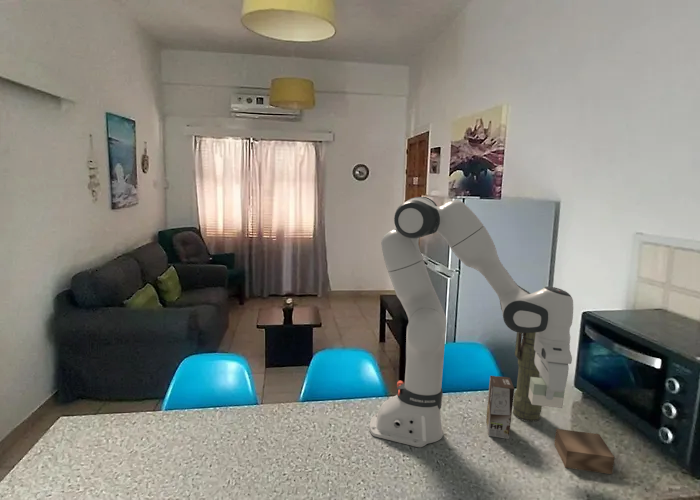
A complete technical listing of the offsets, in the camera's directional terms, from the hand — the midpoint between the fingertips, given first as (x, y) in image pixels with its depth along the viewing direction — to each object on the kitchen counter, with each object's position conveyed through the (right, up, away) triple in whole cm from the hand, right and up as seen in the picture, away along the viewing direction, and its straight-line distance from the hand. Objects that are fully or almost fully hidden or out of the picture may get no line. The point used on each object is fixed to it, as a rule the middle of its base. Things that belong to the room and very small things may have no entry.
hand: (545, 393), depth 131 cm
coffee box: (-9, -17, +16) cm, 25 cm away
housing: (0, -3, 0) cm, 3 cm away
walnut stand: (+11, -19, +3) cm, 23 cm away
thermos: (+5, -16, +27) cm, 32 cm away
